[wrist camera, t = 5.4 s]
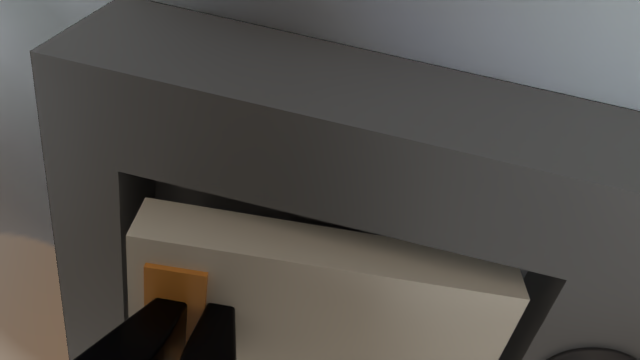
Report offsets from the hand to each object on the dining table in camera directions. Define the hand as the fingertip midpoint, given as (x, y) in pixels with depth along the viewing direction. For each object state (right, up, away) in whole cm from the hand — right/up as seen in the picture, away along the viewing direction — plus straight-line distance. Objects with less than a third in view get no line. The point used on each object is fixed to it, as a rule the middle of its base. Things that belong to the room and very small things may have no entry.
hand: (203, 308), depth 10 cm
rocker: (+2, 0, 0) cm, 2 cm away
